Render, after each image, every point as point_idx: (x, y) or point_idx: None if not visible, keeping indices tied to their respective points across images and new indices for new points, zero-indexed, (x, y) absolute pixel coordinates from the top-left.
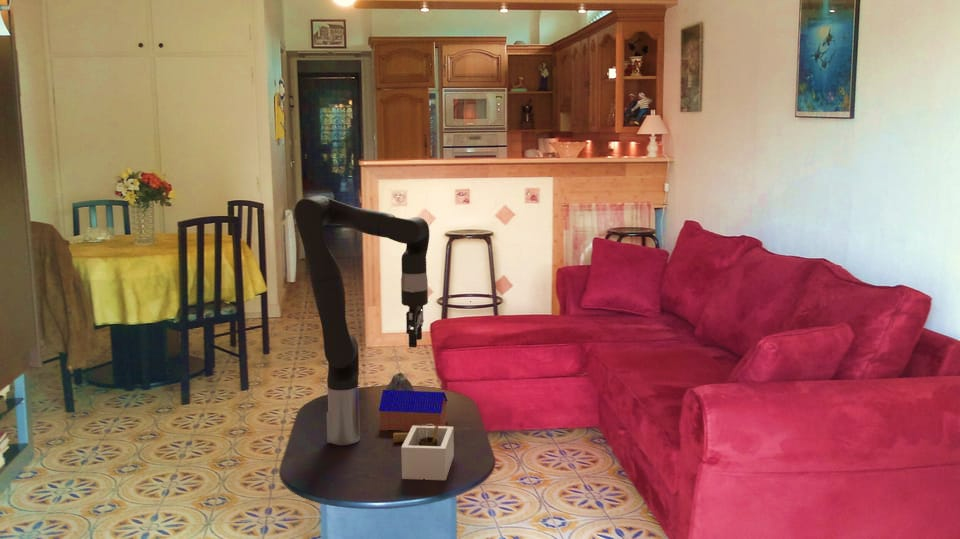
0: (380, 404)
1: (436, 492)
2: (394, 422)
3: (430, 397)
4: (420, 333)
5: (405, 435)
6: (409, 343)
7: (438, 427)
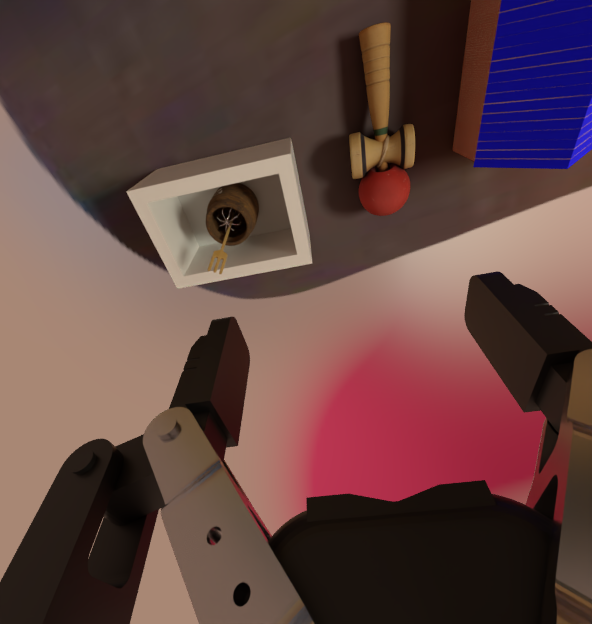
0: None
1: (141, 256)
2: None
3: (552, 117)
4: (490, 356)
5: (369, 78)
6: (210, 339)
7: (296, 231)
